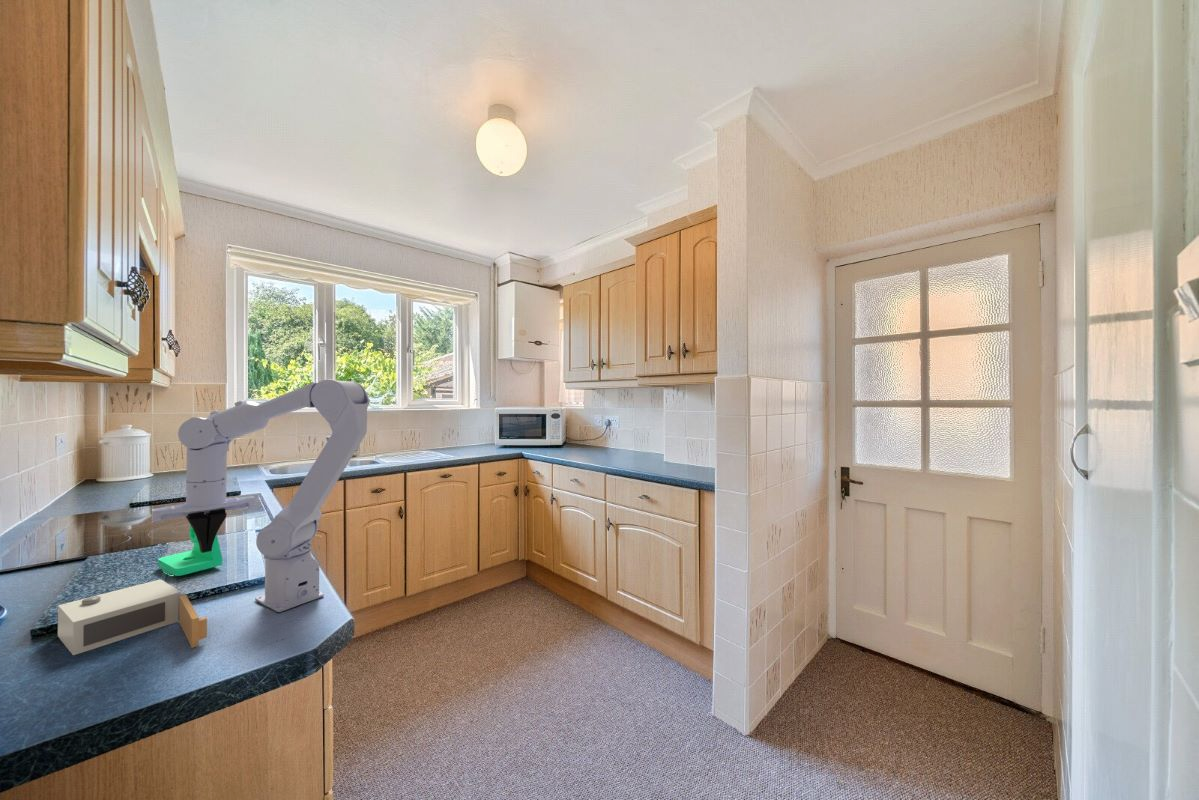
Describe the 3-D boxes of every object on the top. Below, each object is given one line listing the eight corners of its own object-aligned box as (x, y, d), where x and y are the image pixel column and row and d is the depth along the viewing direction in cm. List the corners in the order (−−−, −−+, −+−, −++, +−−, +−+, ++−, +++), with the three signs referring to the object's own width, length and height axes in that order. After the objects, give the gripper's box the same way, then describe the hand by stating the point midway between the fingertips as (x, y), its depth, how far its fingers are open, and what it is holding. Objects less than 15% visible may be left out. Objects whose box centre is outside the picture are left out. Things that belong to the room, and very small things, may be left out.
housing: (180, 620, 75) (181, 588, 75) (73, 655, 65) (73, 618, 65) (158, 604, 81) (158, 574, 81) (56, 634, 71) (56, 599, 71)
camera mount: (156, 570, 97) (156, 524, 97) (200, 559, 104) (201, 516, 104) (176, 581, 91) (177, 533, 91) (222, 569, 98) (222, 524, 98)
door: (177, 620, 75) (177, 595, 75) (192, 616, 76) (192, 591, 76) (190, 648, 67) (191, 619, 67) (207, 642, 68) (207, 615, 68)
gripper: (248, 472, 91) (247, 537, 91) (149, 482, 80) (148, 555, 80) (258, 477, 87) (257, 544, 87) (154, 487, 75) (153, 565, 75)
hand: (205, 550), depth 83 cm, fingers closed
